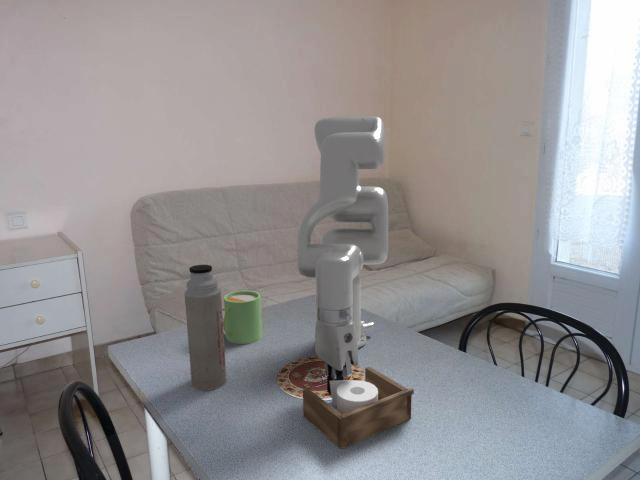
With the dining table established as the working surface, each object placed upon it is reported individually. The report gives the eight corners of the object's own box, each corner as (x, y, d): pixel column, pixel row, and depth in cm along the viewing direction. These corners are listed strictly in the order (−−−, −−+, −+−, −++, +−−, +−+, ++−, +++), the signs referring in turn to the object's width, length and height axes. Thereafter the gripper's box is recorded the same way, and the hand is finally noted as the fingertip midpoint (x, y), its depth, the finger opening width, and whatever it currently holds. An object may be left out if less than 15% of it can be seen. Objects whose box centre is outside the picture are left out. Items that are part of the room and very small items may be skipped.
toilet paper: (333, 404, 108) (332, 374, 107) (383, 416, 104) (383, 385, 102) (316, 424, 101) (315, 392, 100) (369, 438, 96) (369, 405, 95)
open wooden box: (369, 391, 113) (369, 363, 112) (413, 419, 102) (413, 389, 101) (303, 416, 104) (302, 386, 102) (343, 450, 93) (343, 417, 91)
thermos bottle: (231, 375, 122) (224, 262, 116) (218, 392, 114) (210, 272, 108) (200, 372, 123) (192, 261, 117) (185, 389, 116) (175, 270, 110)
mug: (243, 326, 151) (240, 288, 149) (269, 334, 145) (267, 294, 143) (211, 341, 141) (208, 300, 139) (238, 350, 135) (235, 307, 133)
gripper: (371, 319, 101) (370, 402, 105) (329, 298, 113) (330, 373, 117) (340, 328, 97) (341, 414, 101) (300, 305, 109) (302, 383, 113)
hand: (335, 392), depth 109 cm, fingers closed
